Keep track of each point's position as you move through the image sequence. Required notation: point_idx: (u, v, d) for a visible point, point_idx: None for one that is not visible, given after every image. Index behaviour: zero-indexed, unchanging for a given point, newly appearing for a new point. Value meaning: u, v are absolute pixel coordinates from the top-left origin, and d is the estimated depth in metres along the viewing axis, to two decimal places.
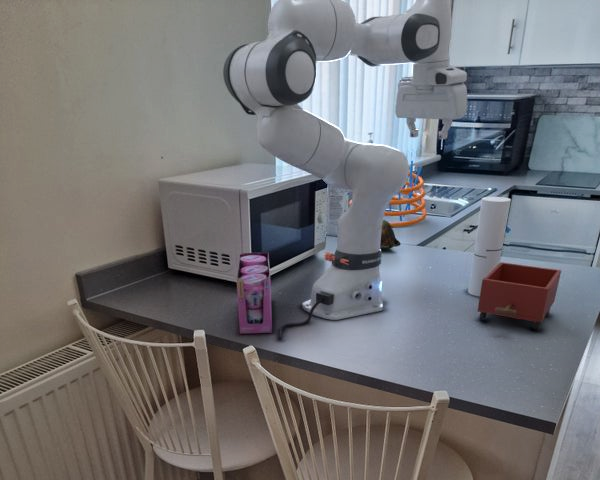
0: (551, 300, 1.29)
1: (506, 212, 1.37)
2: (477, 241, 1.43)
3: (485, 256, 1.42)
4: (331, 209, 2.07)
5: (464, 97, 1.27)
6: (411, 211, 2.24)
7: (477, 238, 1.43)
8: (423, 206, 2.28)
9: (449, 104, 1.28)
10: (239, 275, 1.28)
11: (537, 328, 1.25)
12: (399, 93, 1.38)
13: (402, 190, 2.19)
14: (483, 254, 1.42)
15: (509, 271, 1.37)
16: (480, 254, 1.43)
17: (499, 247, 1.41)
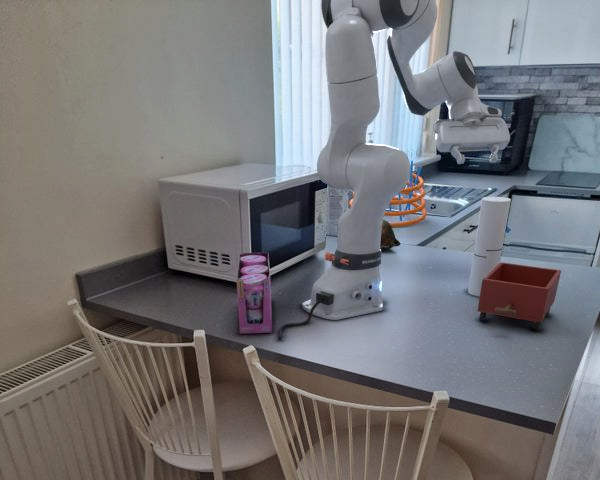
0: (551, 300, 1.29)
1: (506, 212, 1.37)
2: (477, 241, 1.43)
3: (485, 256, 1.42)
4: (331, 209, 2.07)
5: None
6: (411, 211, 2.24)
7: (477, 238, 1.43)
8: (423, 206, 2.28)
9: (500, 131, 1.46)
10: (239, 275, 1.28)
11: (537, 328, 1.25)
12: (443, 125, 1.45)
13: (402, 190, 2.19)
14: (483, 254, 1.42)
15: (509, 271, 1.37)
16: (480, 254, 1.43)
17: (499, 247, 1.41)
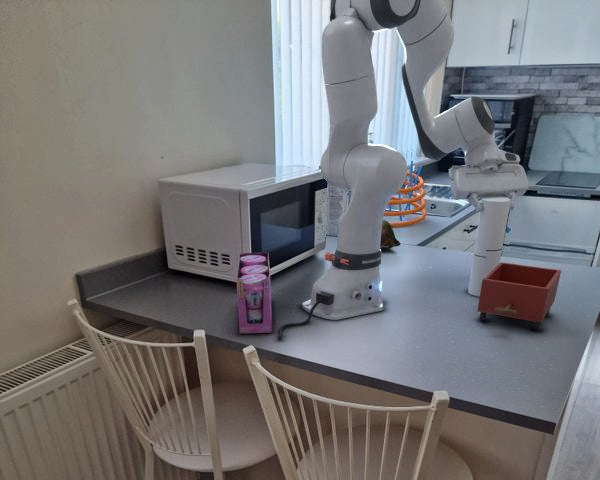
0: (551, 300, 1.29)
1: (506, 212, 1.37)
2: (477, 241, 1.43)
3: (485, 256, 1.43)
4: (331, 209, 2.07)
5: None
6: (411, 211, 2.24)
7: (477, 238, 1.43)
8: (423, 206, 2.28)
9: (519, 177, 1.40)
10: (239, 275, 1.28)
11: (537, 328, 1.25)
12: (459, 172, 1.39)
13: (402, 190, 2.19)
14: (483, 254, 1.42)
15: (509, 271, 1.37)
16: (480, 254, 1.43)
17: (499, 247, 1.41)
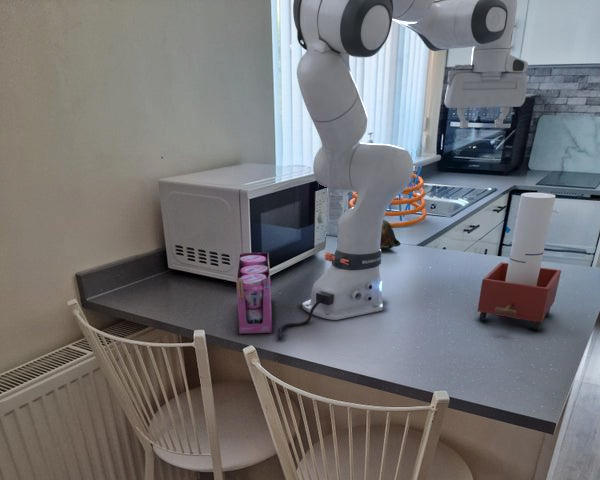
0: (551, 300, 1.29)
1: (550, 210, 1.18)
2: (515, 244, 1.24)
3: (524, 261, 1.24)
4: (331, 209, 2.07)
5: None
6: (411, 211, 2.24)
7: (515, 240, 1.24)
8: (423, 206, 2.28)
9: (517, 91, 1.33)
10: (239, 275, 1.28)
11: (537, 328, 1.25)
12: (458, 81, 1.30)
13: None
14: (522, 259, 1.24)
15: None
16: (518, 259, 1.24)
17: (540, 251, 1.23)
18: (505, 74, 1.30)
